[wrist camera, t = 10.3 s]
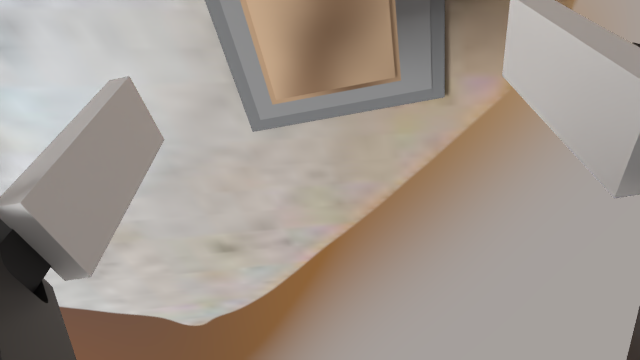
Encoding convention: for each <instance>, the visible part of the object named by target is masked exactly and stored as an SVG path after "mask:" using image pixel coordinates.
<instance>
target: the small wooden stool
mask: <svg viewBox="0 0 640 360" xmlns="http://www.w3.org/2000/svg"><path fill="white" fill-rule="evenodd" d="M240 2H241V5H242V8H243V12H244V15H245V18H246V21H247V24H248V28H249V31H250V34H251V37H252V40H253V44H254V47H255V50H256V53H257V57H258V60H259V63H260V66H261V69H262V73H263V76H264V79H265V82H266V85H267V89H268V92H269V95H270V98H271V102H272V105H273V104H279V103H284V102H289V101H295V100H300V99H305V98H311V97H316V96H321V95H327V94H332V93H337V92H343V91H348V90H353V89H358V88H364V87H369V86H374V85H380V84H385V83H390V82H396V81H401V73H400V59H399V46H398V33H397V19H396V6H395V0H240Z"/></svg>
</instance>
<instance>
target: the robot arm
mask: <svg viewBox="0 0 640 360" xmlns="http://www.w3.org/2000/svg"><path fill="white" fill-rule="evenodd" d="M502 76H503V77H504V78H505V79H506V80H507V81H508V83H509V84H510V85H511V86H512V87H513V88H514V89H515V90H516V91H517V92H518V93H519V95H521V97H522V98H523V99H524V100H525V101H526V102H527V103H528V104H529V106H530V107H531V108H532V109H533V110H534V111H535V112H536V113H537V114H538V115H539V116H540V118H541V119H543V121H544V122H545V123H546V124H547V125H548V126H549V127H550V129H551V130H552V131H553V132H554V133H555V134H556V135H557V136H558V137H559V138H560V139H561V141H562V142H563V143H564V144H565V145H566V146H567V147H568V148H569V149H570V150H571V152H573V154H574V155H575V156H576V157H577V158H578V159H579V160H580V161H581V162H582V163H583V165H584V166H585V167H586V168H587V169H588V170H589V171H590V172H591V173H592V175H593V176H594V177H595V178H596V179H597V180H598V181H599V182H600V183H601V184H602V185H603V187H604V188H605V189H606V190H607V191H608V192H609V193H610V194H611V195H612V196H613V198H619V197H627V196H633V195H640V44H637V43H631V42H629V41H627V40H625V39H624V38H622V37H620V36H618V35H616V34H614V33H613V32H611V31H609V30H607V29H605V28H604V27H602V26H600V25H598V24H596V23H594V22H593V21H591V20H589V19H587V18H586V17H584V16H582V15H580V14H578V13H576V12H575V11H573V10H571V9H569V8H567V7H566V6H564V5H562V4H560V3H558V2H557V1H555V0H510V7H509V16H508V26H507V35H506V45H505V54H504V63H503V73H502ZM163 141H164V138H163V136H162V135H161V133H160V131H159V129H158V127H157V126H156V124H155V122H154V120H153V118H152V116H151V115H150V113H149V111H148V109H147V107H146V106H145V104H144V102H143V100H142V98H141V97H140V95H139V93H138V91H137V89H136V87H135V86H134V84H133V82H132V80H131V78H130V77H129V76H128V77H123V78H118V79H114V80H109V81H108V83H107V84H106V85H105V86H104V87H103V88H102V89H101V90H100V91H99V92H98V93H97V94H96V95H95V96H94V97H93V99H92V100H91V101H90V102H89V103H88V104H87V105H86V106H85V107H84V108H83V109H82V110H81V111H80V112H79V113H78V115H77V116H76V117H75V118H74V119H73V120H72V121H71V122H70V123H69V124H68V125H67V126H66V127H65V128H64V130H63V131H62V132H61V133H60V134H59V135H58V136H57V137H56V138H55V139H54V140H53V141H52V142H51V143H50V144H49V146H48V147H47V148H46V149H45V150H44V151H43V152H42V153H41V154H40V155H39V156H38V157H37V158H36V159H35V160H34V162H33V163H32V164H31V165H30V166H29V167H28V168H27V169H26V170H25V171H24V172H23V173H22V174H21V175H20V176H19V178H18V179H17V180H16V181H15V182H14V183H13V184H12V185H11V186H10V187H9V188H8V189H7V190H6V191H5V193H4V194H3V195H2V196H1V197H0V360H76V357H75V354H74V351H73V348H72V345H71V342H70V339H69V336H68V333H67V330H66V327H65V324H64V321H63V318H62V315H61V312H60V309H59V305H58V302H57V299H56V296H55V293H54V290H53V287H52V286H51V285H50V284H49V283H48V282H47V281H46V280H45V279H44V277H45V275H46V273H47V272H48V270H49V269H50V267H51V268H52V269H53V270H54V271H55V272H56V273H57V274H58V275H59V276H61V277H62V278H63V279H64V280H65V281H67V280H74V279H81V278H87V277H91V276H92V274H93V272H94V270H95V269H96V267H97V265H98V263H99V261H100V259H101V257H102V255H103V254H104V252H105V250H106V248H107V246H108V244H109V242H110V240H111V239H112V237H113V235H114V233H115V231H116V229H117V227H118V225H119V224H120V222H121V220H122V218H123V216H124V214H125V212H126V210H127V209H128V207H129V205H130V203H131V201H132V199H133V197H134V196H135V194H136V192H137V190H138V188H139V186H140V184H141V182H142V181H143V179H144V177H145V175H146V173H147V171H148V169H149V167H150V166H151V164H152V162H153V160H154V158H155V156H156V154H157V152H158V151H159V149H160V147H161V145H162V143H163ZM627 360H640V307H639V311H638V315H637V319H636V323H635V328H634V331H633V336H632V340H631V344H630V348H629V352H628V356H627Z"/></svg>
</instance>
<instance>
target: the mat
mask: <svg viewBox="0 0 640 360" xmlns="http://www.w3.org/2000/svg"><path fill="white" fill-rule="evenodd" d="M205 2H206V5H207V7H208V10H209V13H210V16H211V18H212V21H213V24H214V27H215V29H216V32H217V35H218V38H219V40H220V43H221V46H222V49H223V51H224V54H225V57H226V60H227V62H228V65H229V68H230V71H231V73H232V76H233V79H234V82H235V84H236V87H237V90H238V93H239V95H240V98H241V101H242V103H243V106H244V109H245V112H246V114H247V117H248V120H249V123H250V125H251V128H252V131H253V132H254V131H260V130H265V129H271V128H277V127H282V126H288V125H293V124H299V123H304V122H310V121H315V120H321V119H326V118H332V117H337V116H343V115H349V114H354V113H360V112H365V111H371V110H376V109H382V108H387V107H393V106H398V105H404V104H409V103H415V102H421V101H426V100H432V99H437V98H443V97H445V0H395V6H396V19H397V33H398V46H399V59H400V73H401V81H396V82H390V83H385V84H380V85H374V86H369V87H364V88H358V89H353V90H348V91H343V92H337V93H332V94H327V95H321V96H316V97H311V98H305V99H300V100H295V101H289V102H284V103H279V104H273V105H272V102H271V98H270V95H269V92H268V89H267V85H266V82H265V79H264V76H263V73H262V69H261V66H260V63H259V60H258V57H257V53H256V50H255V47H254V44H253V40H252V37H251V34H250V31H249V28H248V24H247V21H246V18H245V15H244V12H243V8H242V5H241V2H240V0H205Z"/></svg>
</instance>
